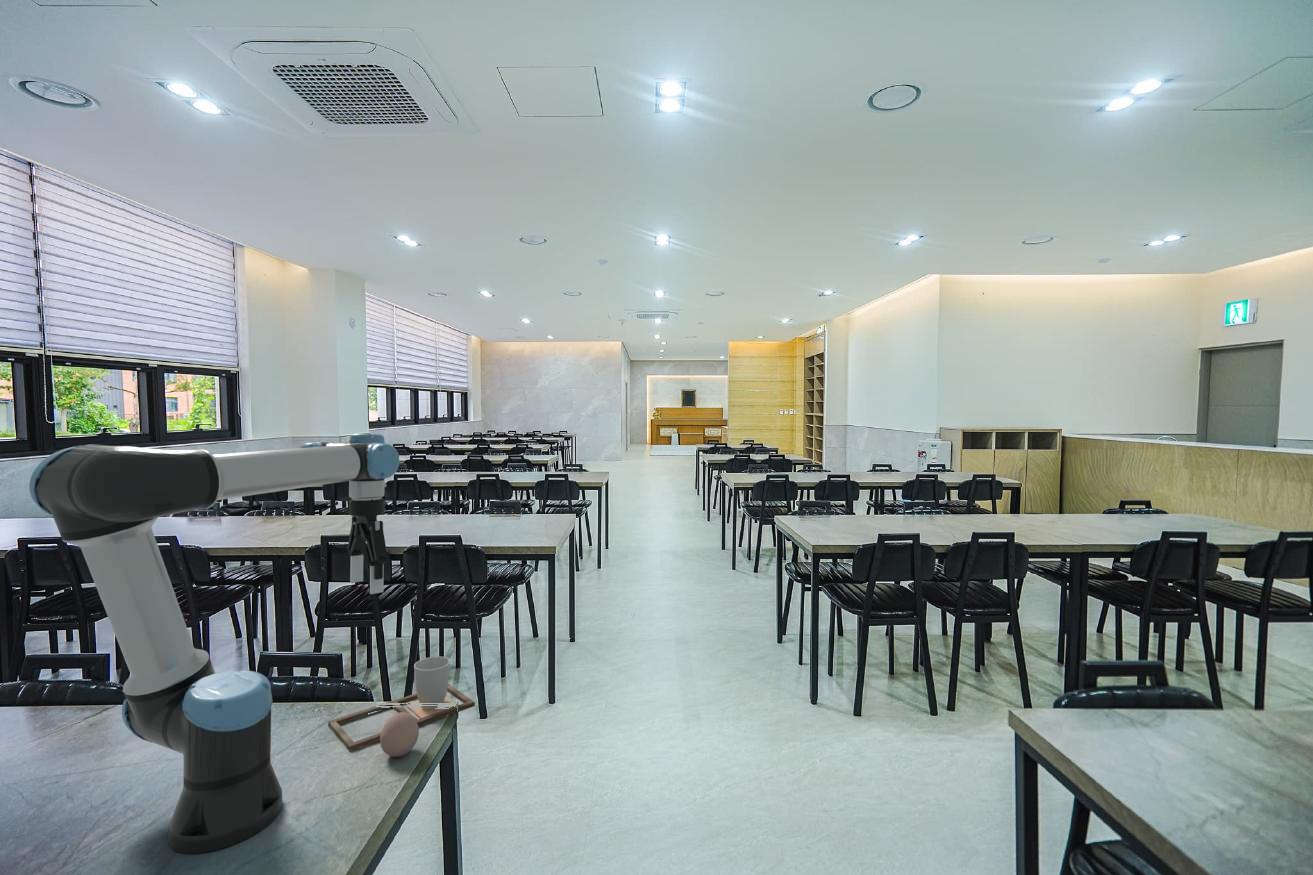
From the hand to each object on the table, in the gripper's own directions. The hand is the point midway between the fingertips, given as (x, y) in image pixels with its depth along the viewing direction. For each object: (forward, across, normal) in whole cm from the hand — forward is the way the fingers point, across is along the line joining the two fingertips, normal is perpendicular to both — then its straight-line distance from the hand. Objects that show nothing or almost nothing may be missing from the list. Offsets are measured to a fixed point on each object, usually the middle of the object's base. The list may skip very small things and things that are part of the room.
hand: (366, 587), depth 133 cm
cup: (+29, -10, -12) cm, 33 cm away
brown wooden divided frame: (+29, -10, -5) cm, 31 cm away
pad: (+29, -10, -12) cm, 33 cm away
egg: (+29, -26, +2) cm, 39 cm away
